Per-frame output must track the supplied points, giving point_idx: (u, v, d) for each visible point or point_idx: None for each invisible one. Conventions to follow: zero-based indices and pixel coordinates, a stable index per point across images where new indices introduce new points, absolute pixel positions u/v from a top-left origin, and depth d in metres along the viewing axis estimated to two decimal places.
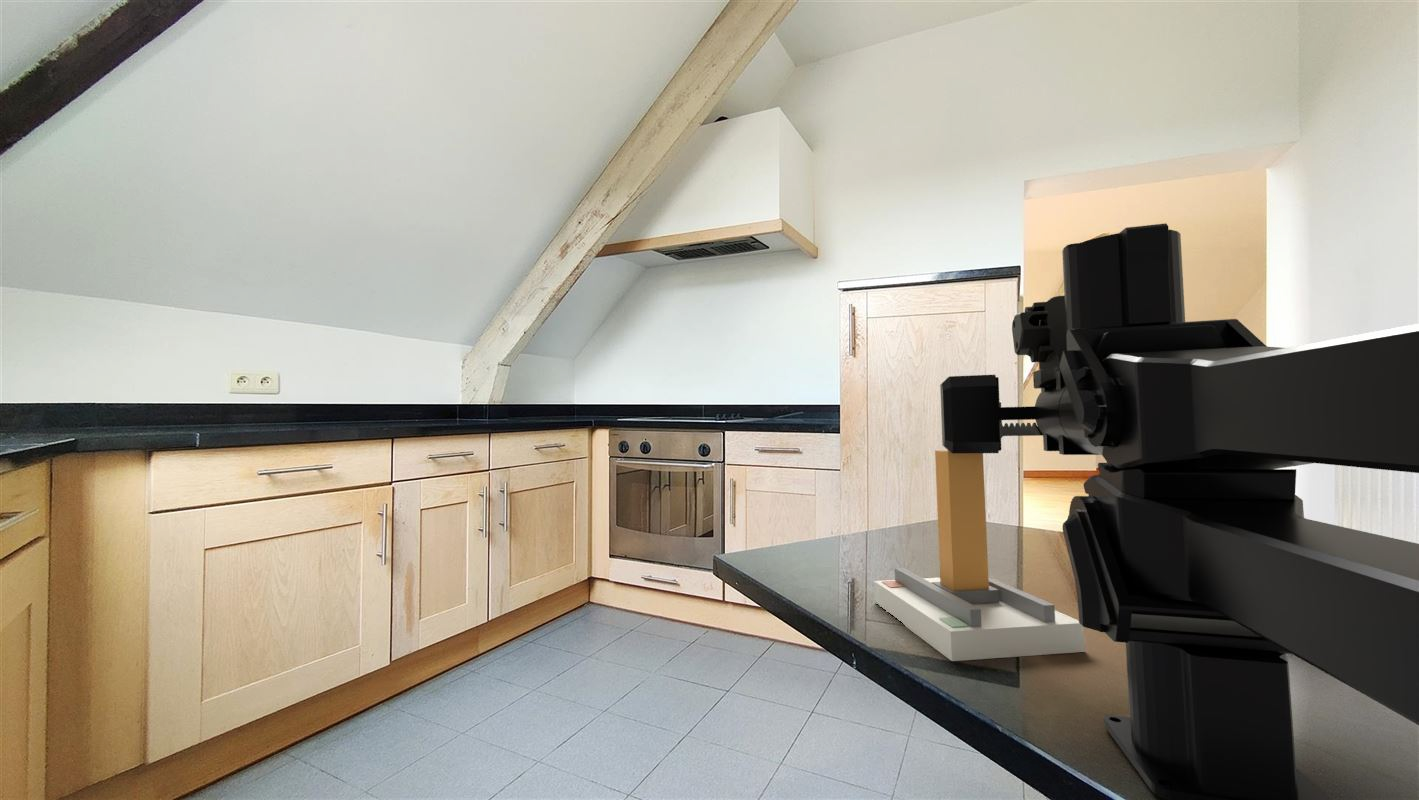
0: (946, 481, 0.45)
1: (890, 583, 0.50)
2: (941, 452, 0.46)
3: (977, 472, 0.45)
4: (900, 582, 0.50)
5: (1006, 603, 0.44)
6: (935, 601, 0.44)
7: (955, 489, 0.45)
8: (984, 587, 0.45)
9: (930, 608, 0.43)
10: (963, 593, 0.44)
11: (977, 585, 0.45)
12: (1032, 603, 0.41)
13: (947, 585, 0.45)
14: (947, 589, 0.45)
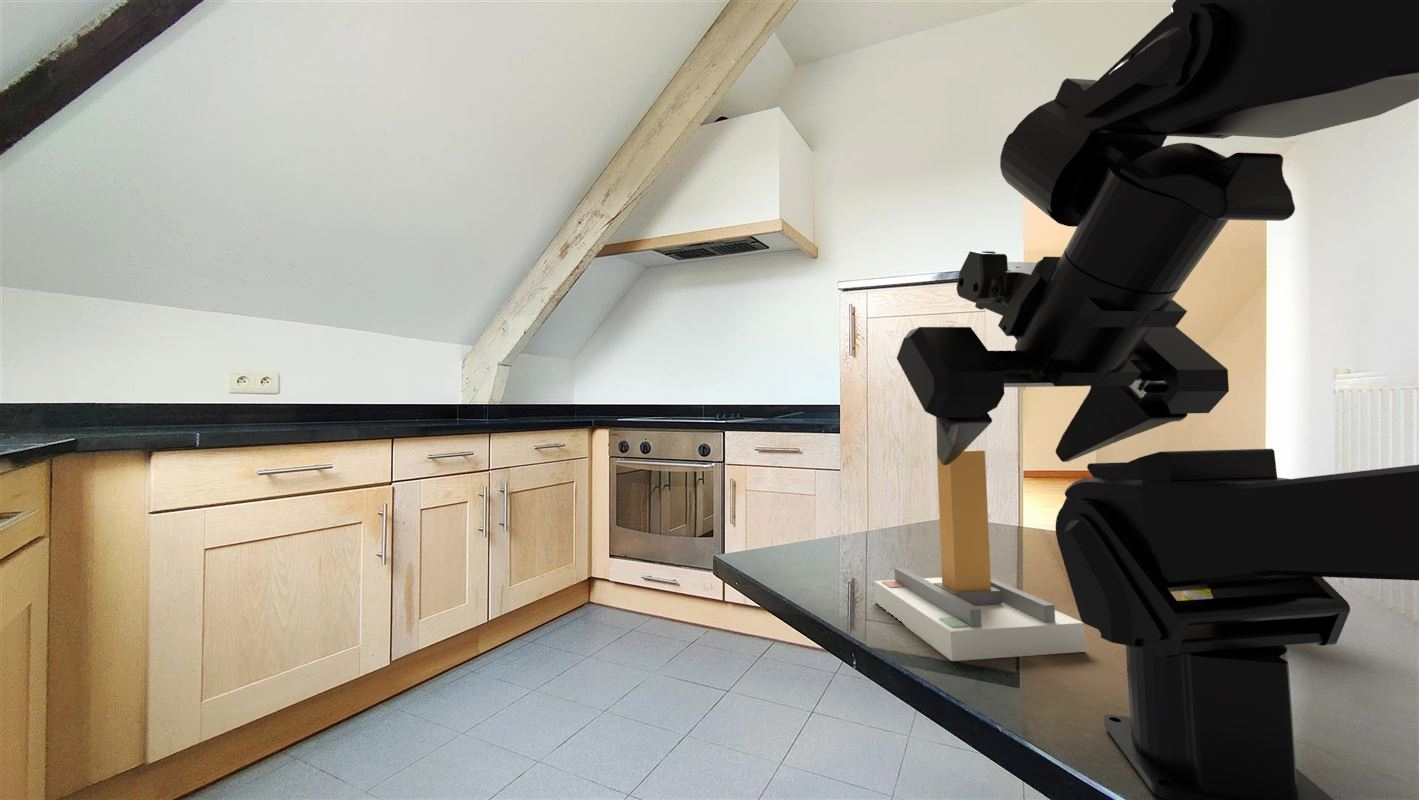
0: (948, 481, 0.45)
1: (890, 583, 0.50)
2: None
3: (979, 472, 0.45)
4: (900, 582, 0.50)
5: (1006, 603, 0.44)
6: (935, 601, 0.44)
7: (957, 489, 0.45)
8: (986, 588, 0.45)
9: (930, 608, 0.43)
10: (965, 594, 0.44)
11: (979, 586, 0.44)
12: (1032, 603, 0.41)
13: (949, 586, 0.45)
14: (949, 589, 0.45)
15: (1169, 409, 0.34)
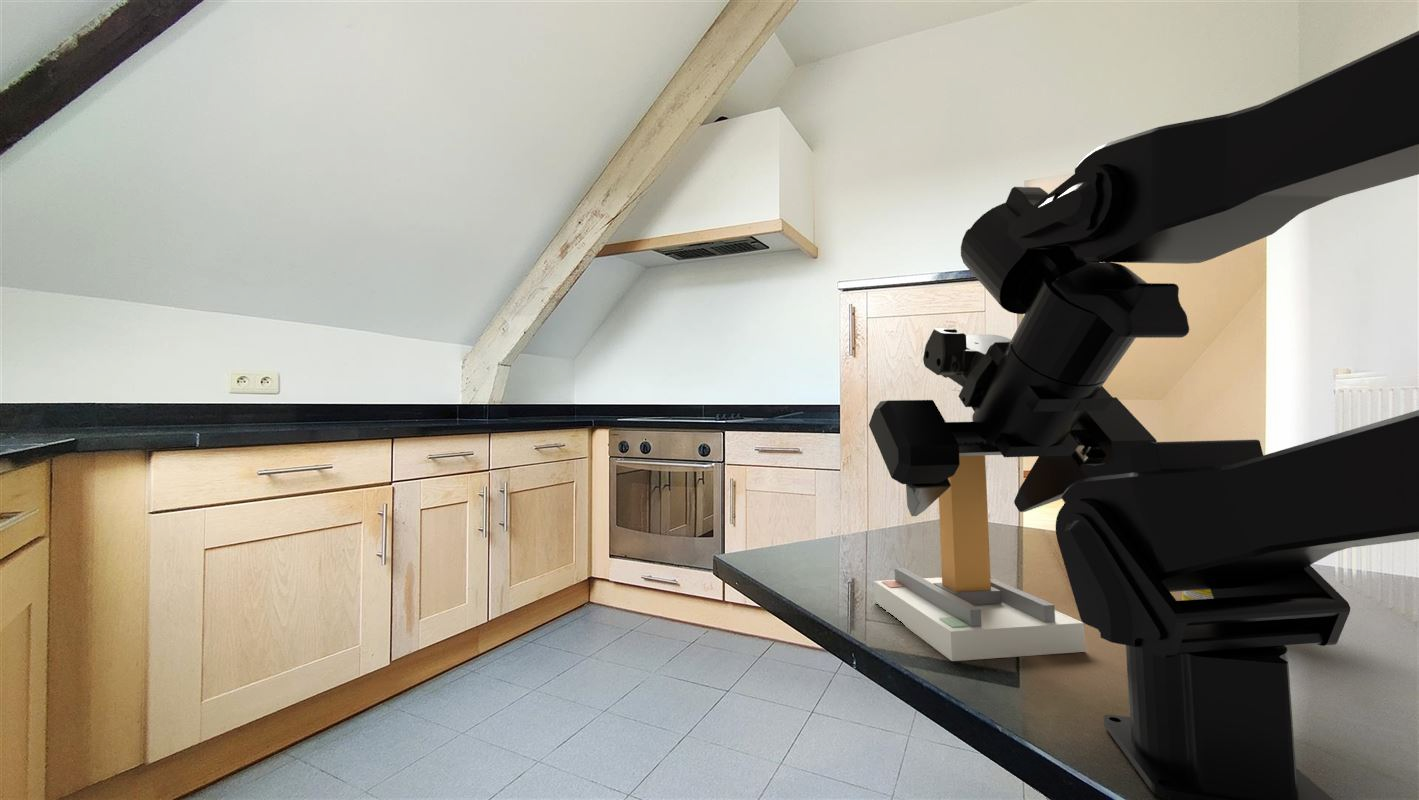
0: None
1: (890, 583, 0.50)
2: None
3: (979, 472, 0.45)
4: (900, 582, 0.50)
5: (1006, 603, 0.44)
6: (935, 601, 0.44)
7: (957, 489, 0.45)
8: (986, 588, 0.45)
9: (930, 608, 0.43)
10: (965, 594, 0.44)
11: (979, 586, 0.44)
12: (1032, 603, 0.41)
13: (949, 586, 0.45)
14: (949, 589, 0.45)
15: None
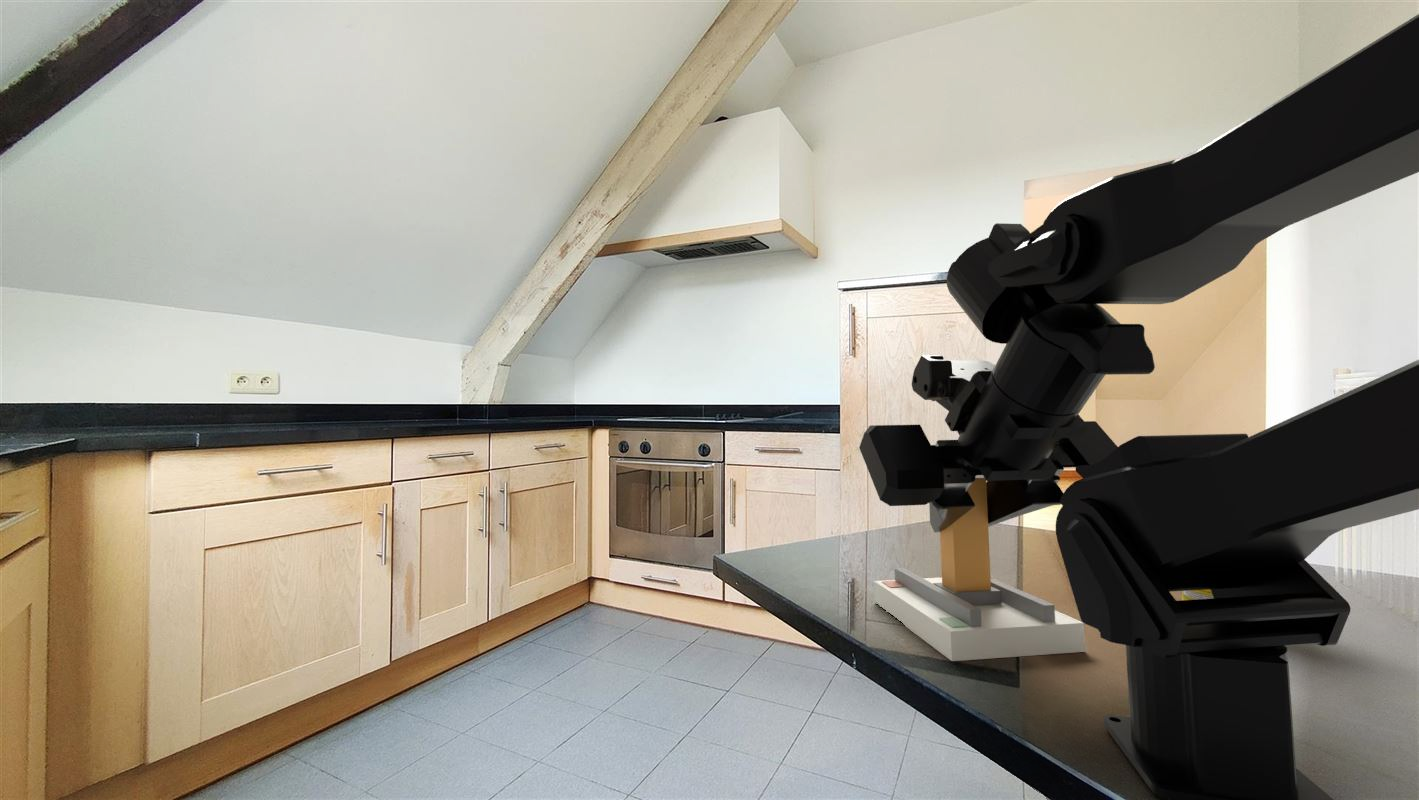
0: None
1: (890, 583, 0.50)
2: None
3: None
4: (900, 582, 0.50)
5: (1006, 603, 0.44)
6: (935, 601, 0.44)
7: None
8: (986, 588, 0.45)
9: (930, 608, 0.43)
10: (965, 594, 0.44)
11: (979, 586, 0.44)
12: (1032, 603, 0.41)
13: (949, 586, 0.45)
14: (949, 589, 0.45)
15: None
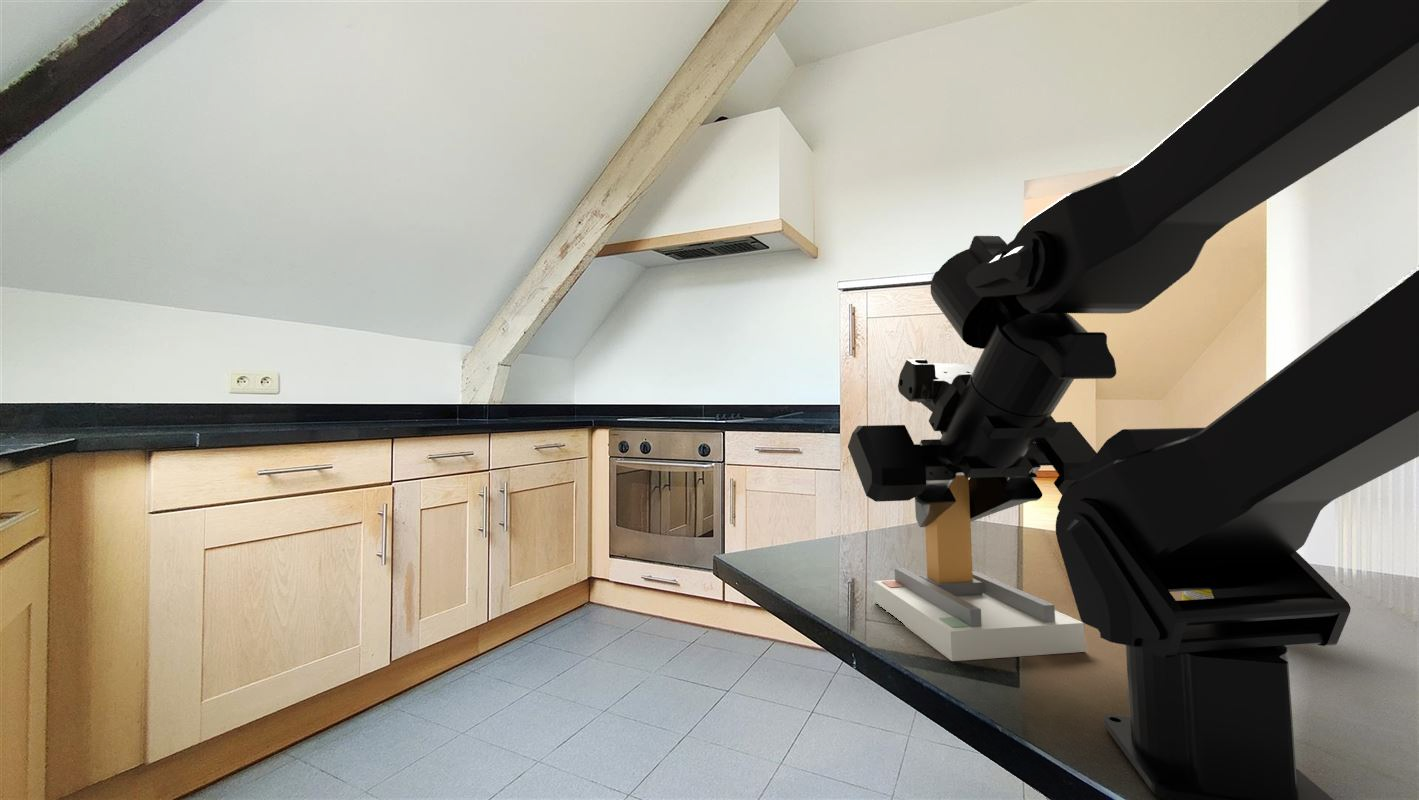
0: None
1: (890, 583, 0.50)
2: None
3: None
4: (900, 582, 0.50)
5: (1006, 603, 0.44)
6: (935, 601, 0.44)
7: None
8: (968, 580, 0.47)
9: (930, 608, 0.43)
10: (948, 585, 0.46)
11: (961, 578, 0.47)
12: (1032, 603, 0.41)
13: (933, 578, 0.48)
14: (933, 581, 0.47)
15: (1060, 492, 0.43)
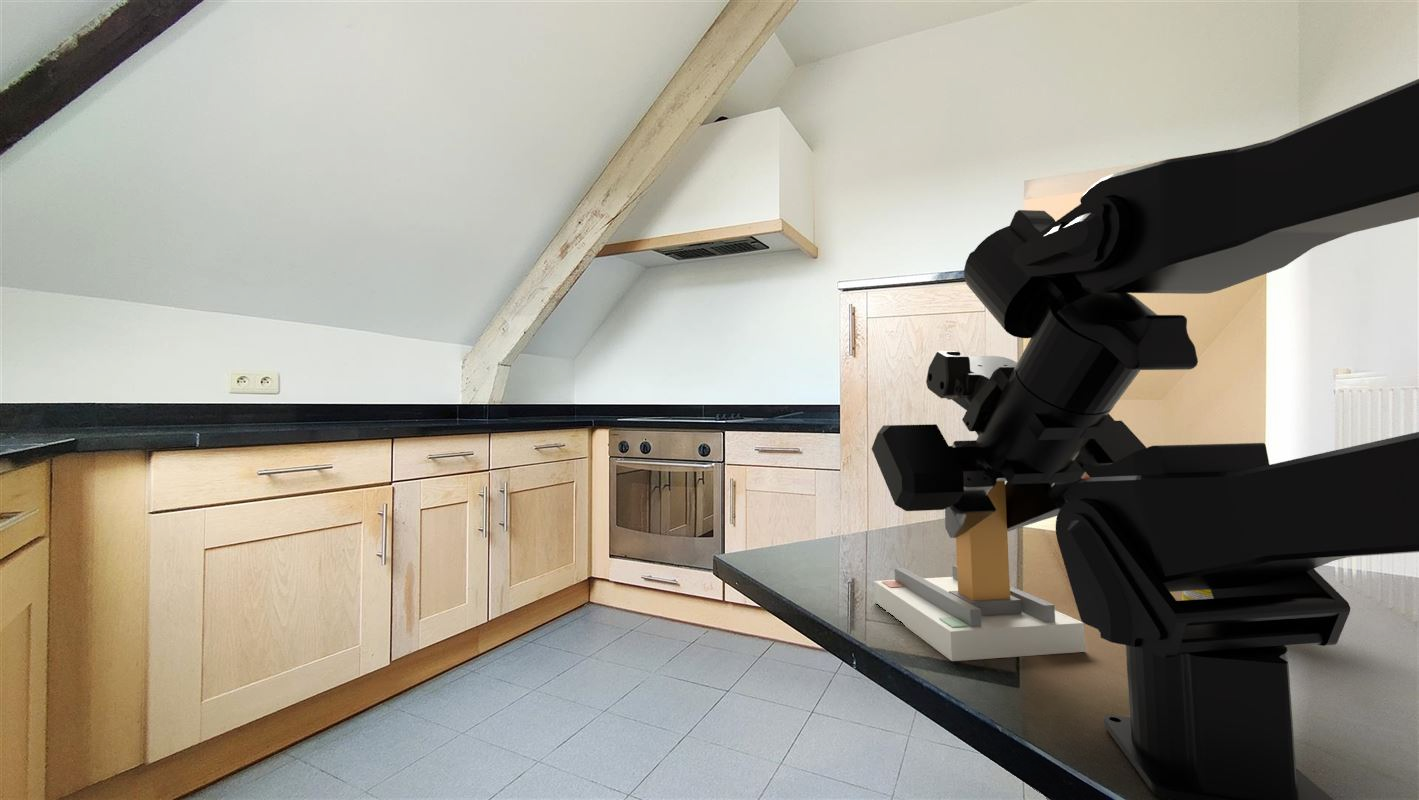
0: None
1: (890, 583, 0.50)
2: None
3: None
4: (900, 582, 0.50)
5: None
6: (935, 601, 0.44)
7: None
8: (1005, 597, 0.42)
9: (930, 608, 0.43)
10: (984, 603, 0.41)
11: (998, 595, 0.42)
12: (1032, 603, 0.41)
13: (966, 595, 0.43)
14: (965, 598, 0.42)
15: None
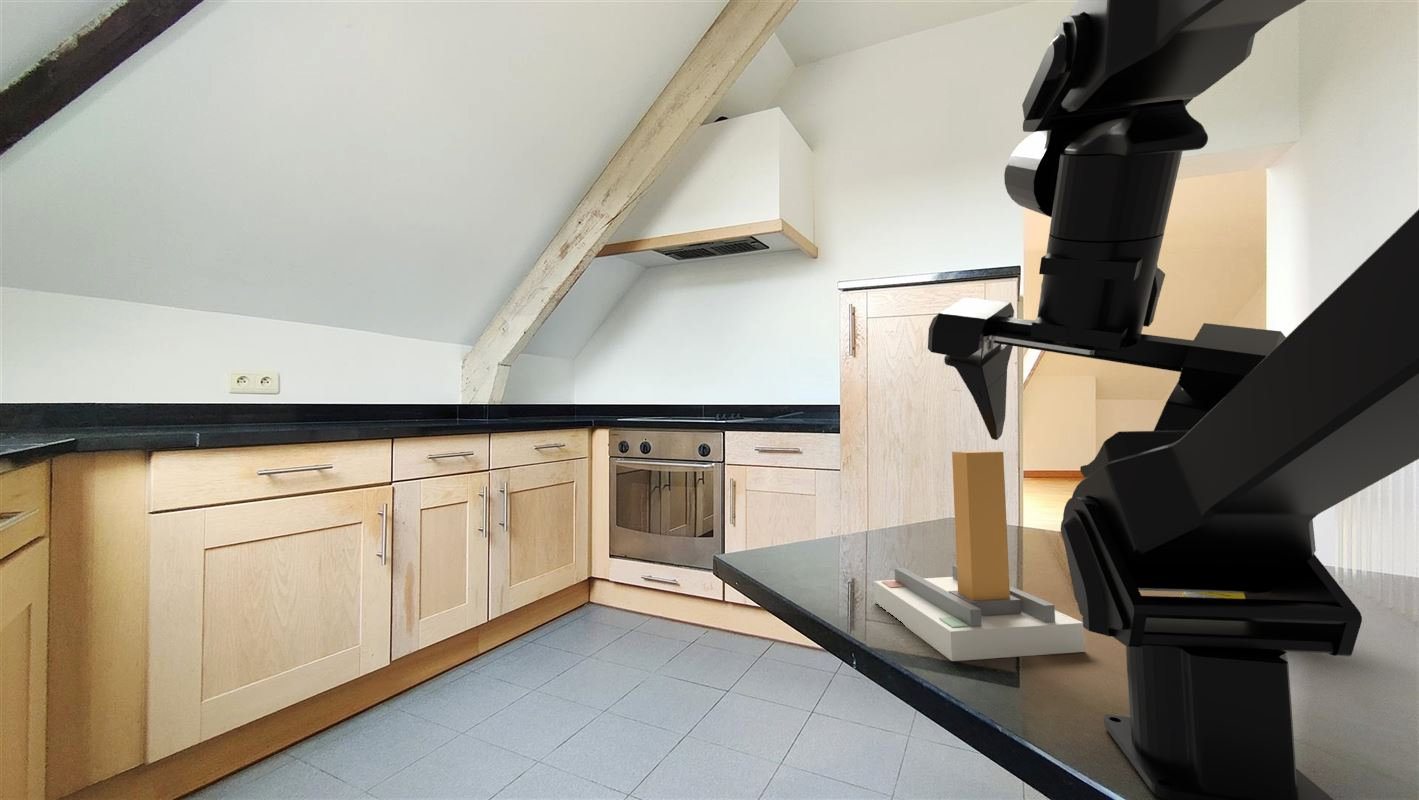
0: (964, 484, 0.43)
1: (890, 583, 0.50)
2: (959, 453, 0.43)
3: (997, 475, 0.43)
4: (900, 582, 0.50)
5: None
6: (935, 601, 0.44)
7: (974, 493, 0.42)
8: (1005, 597, 0.42)
9: (930, 608, 0.43)
10: (983, 603, 0.41)
11: (997, 595, 0.42)
12: (1032, 603, 0.41)
13: (965, 594, 0.43)
14: (965, 598, 0.42)
15: (1187, 392, 0.31)
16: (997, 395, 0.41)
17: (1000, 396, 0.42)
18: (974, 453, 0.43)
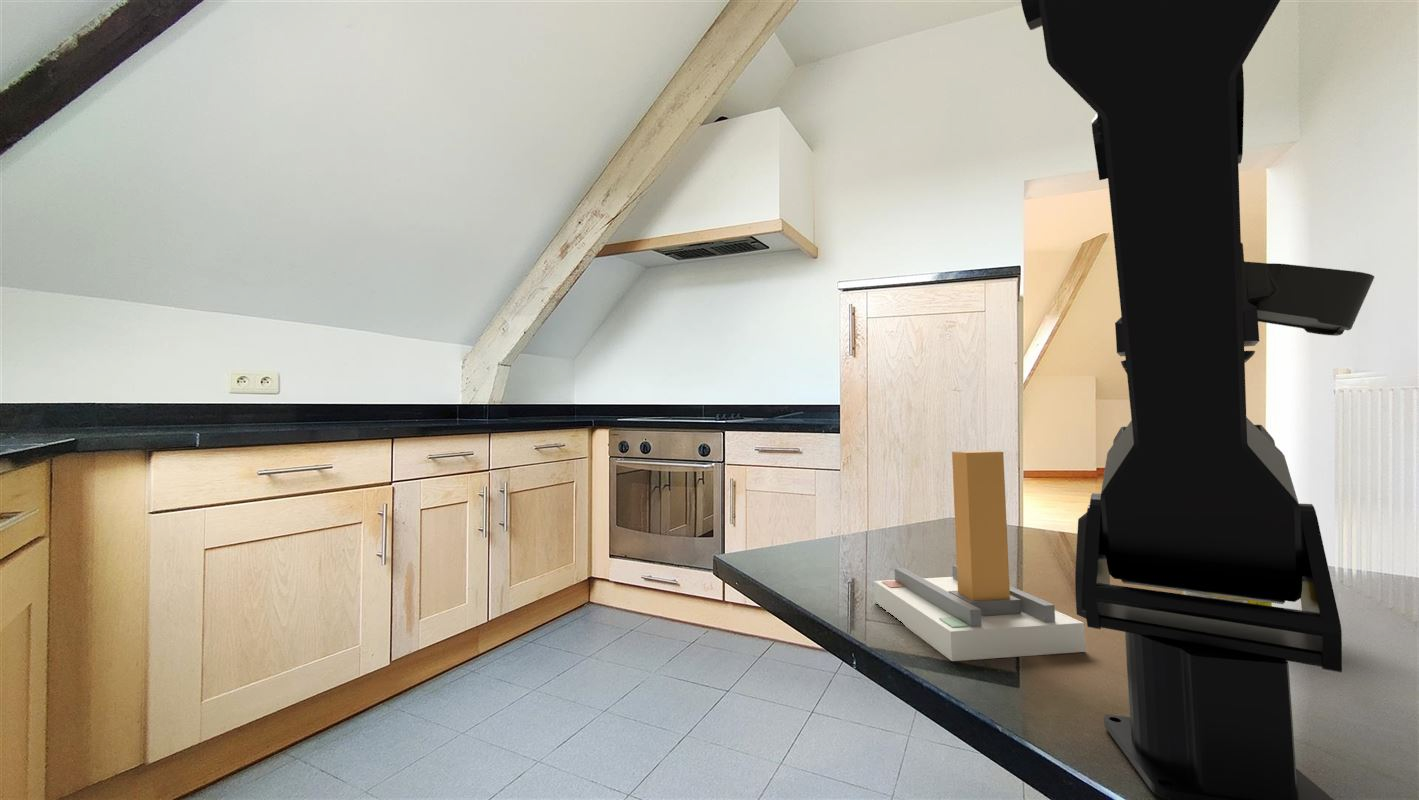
0: (964, 484, 0.43)
1: (890, 583, 0.50)
2: (959, 453, 0.43)
3: (997, 475, 0.43)
4: (900, 582, 0.50)
5: None
6: (935, 601, 0.44)
7: (974, 493, 0.42)
8: (1005, 597, 0.42)
9: (930, 608, 0.43)
10: (983, 603, 0.41)
11: (997, 595, 0.42)
12: (1032, 603, 0.41)
13: (965, 594, 0.43)
14: (965, 598, 0.42)
15: None
16: None
17: None
18: (974, 453, 0.43)
